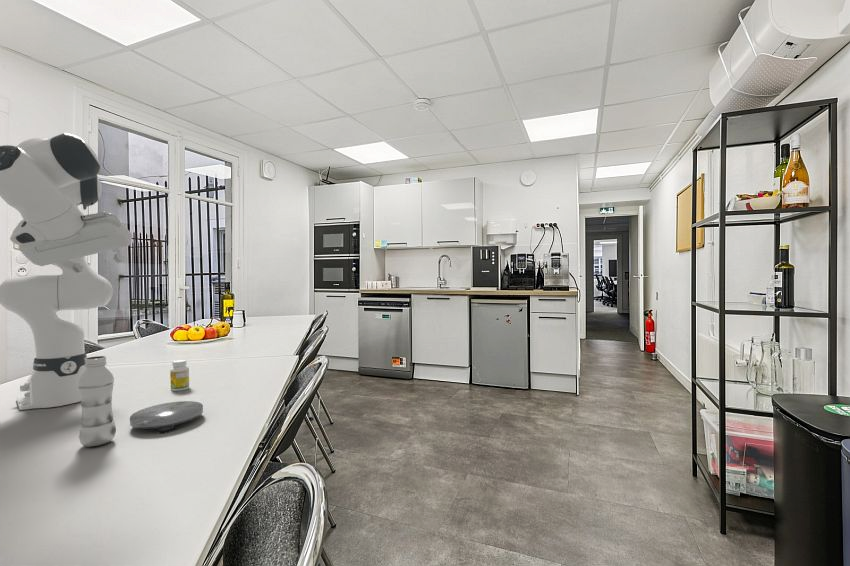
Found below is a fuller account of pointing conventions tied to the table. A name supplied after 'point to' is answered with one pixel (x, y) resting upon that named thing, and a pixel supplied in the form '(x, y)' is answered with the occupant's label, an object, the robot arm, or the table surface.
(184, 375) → the supplement bottle
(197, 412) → the base
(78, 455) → the table surface
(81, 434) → the plastic bottle
